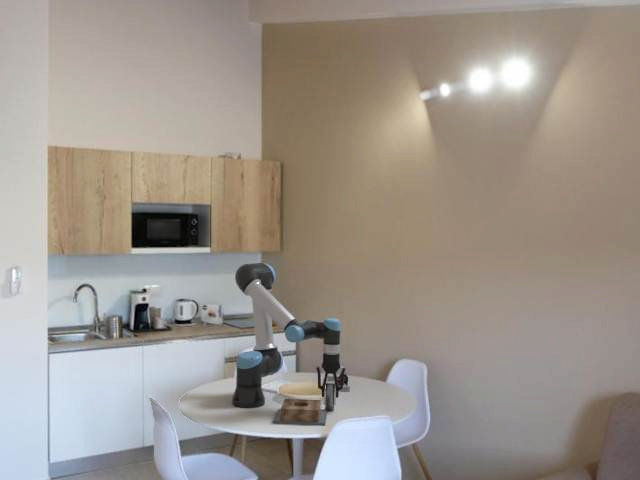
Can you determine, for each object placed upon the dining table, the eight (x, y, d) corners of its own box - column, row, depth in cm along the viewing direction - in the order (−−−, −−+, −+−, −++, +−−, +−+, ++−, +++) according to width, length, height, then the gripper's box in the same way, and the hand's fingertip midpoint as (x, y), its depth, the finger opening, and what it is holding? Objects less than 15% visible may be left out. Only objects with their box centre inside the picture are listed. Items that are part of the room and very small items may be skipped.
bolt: (336, 393, 343) (341, 385, 358) (344, 389, 342) (350, 381, 357) (330, 383, 344) (336, 375, 358) (339, 378, 342) (344, 371, 357)
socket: (273, 423, 284) (273, 409, 284) (278, 410, 302) (278, 397, 302) (325, 425, 283) (325, 411, 283) (327, 413, 301) (327, 399, 301)
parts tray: (323, 390, 340) (323, 385, 340) (325, 380, 362) (325, 375, 362) (349, 391, 339) (349, 386, 339) (350, 381, 361) (350, 376, 361)
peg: (324, 411, 304) (325, 384, 304) (325, 408, 308) (326, 382, 308) (333, 411, 304) (334, 384, 303) (334, 408, 308) (334, 382, 307)
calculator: (255, 390, 339) (255, 386, 339) (278, 382, 356) (278, 379, 356) (277, 394, 332) (277, 390, 332) (299, 386, 349) (299, 382, 349)
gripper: (312, 353, 302) (310, 405, 302) (349, 355, 301) (348, 407, 302) (313, 350, 309) (311, 401, 310) (350, 352, 308) (348, 402, 309)
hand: (329, 404), depth 306 cm, fingers closed on peg, 4 cm apart
